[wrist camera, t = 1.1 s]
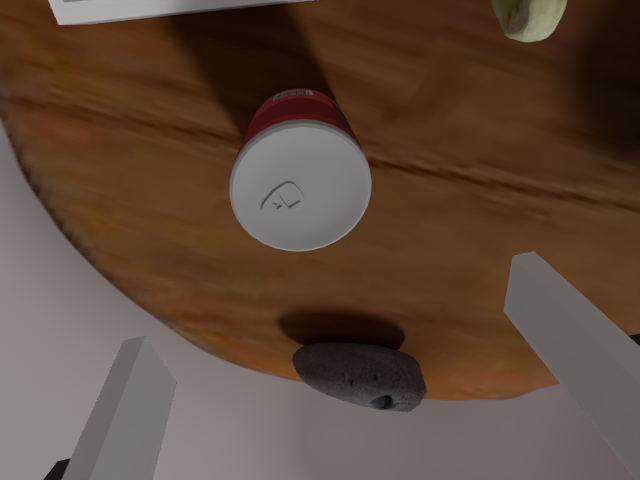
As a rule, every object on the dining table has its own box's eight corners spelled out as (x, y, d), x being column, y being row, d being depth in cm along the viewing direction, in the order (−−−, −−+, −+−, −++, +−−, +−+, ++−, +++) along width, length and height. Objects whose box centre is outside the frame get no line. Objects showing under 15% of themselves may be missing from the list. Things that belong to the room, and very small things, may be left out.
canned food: (230, 142, 28) (199, 203, 19) (294, 60, 25) (294, 85, 16) (302, 198, 31) (305, 274, 22) (366, 131, 28) (401, 185, 19)
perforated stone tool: (287, 353, 42) (285, 407, 36) (298, 323, 40) (299, 376, 34) (398, 370, 46) (414, 422, 40) (416, 344, 43) (435, 395, 37)
